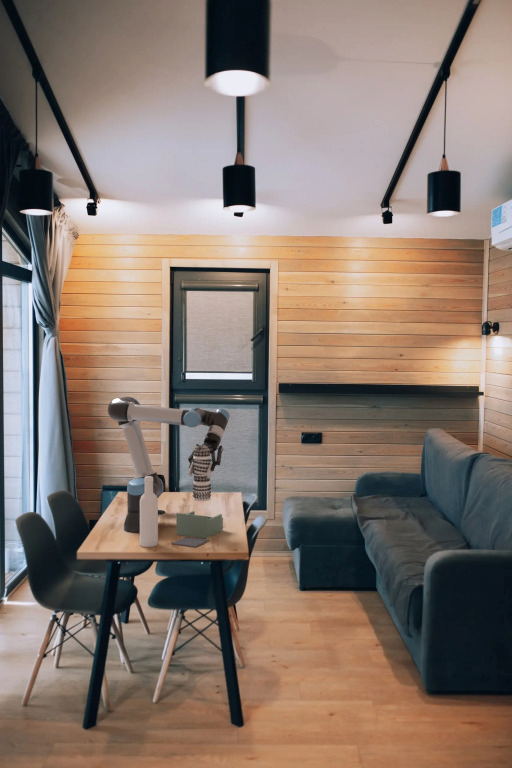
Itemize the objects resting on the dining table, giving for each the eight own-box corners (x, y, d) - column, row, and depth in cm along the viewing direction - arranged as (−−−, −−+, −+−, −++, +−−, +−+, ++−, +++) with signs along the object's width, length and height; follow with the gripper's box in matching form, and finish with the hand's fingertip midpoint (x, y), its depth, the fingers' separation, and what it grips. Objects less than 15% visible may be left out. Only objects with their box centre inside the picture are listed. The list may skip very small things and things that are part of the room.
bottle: (158, 542, 284) (158, 475, 283) (158, 546, 276) (158, 478, 275) (139, 542, 283) (139, 475, 282) (139, 547, 275) (139, 478, 274)
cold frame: (176, 534, 297) (176, 513, 297) (193, 526, 311) (193, 506, 311) (206, 538, 290) (206, 516, 290) (222, 530, 305) (222, 509, 304)
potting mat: (172, 544, 280) (172, 543, 280) (186, 537, 291) (186, 536, 291) (195, 547, 275) (195, 546, 275) (209, 540, 286) (209, 539, 286)
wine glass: (146, 515, 335) (146, 477, 335) (145, 511, 345) (145, 474, 345) (166, 514, 338) (166, 476, 338) (164, 510, 348) (164, 473, 348)
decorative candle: (194, 502, 291) (194, 447, 290) (190, 497, 300) (190, 445, 299) (213, 500, 294) (213, 447, 293) (208, 496, 303) (209, 444, 302)
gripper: (236, 442, 306) (221, 482, 292) (196, 440, 314) (180, 478, 300) (231, 433, 301) (216, 472, 287) (191, 431, 309) (175, 469, 295)
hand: (198, 475), depth 294 cm, fingers closed on decorative candle, 9 cm apart
